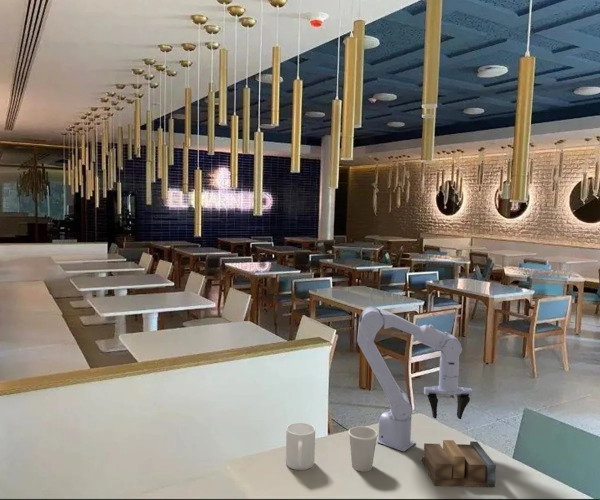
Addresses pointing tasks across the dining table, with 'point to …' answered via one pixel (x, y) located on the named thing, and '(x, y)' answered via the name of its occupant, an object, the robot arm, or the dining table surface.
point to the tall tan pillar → (455, 458)
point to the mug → (300, 446)
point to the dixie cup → (362, 447)
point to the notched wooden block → (475, 471)
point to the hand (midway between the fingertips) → (446, 417)
